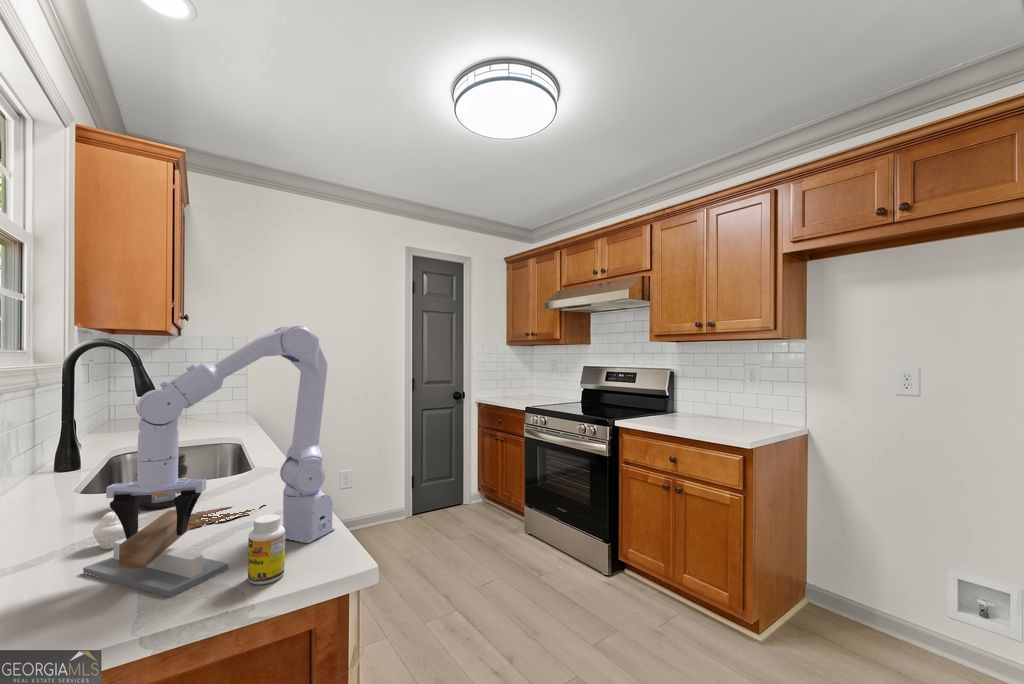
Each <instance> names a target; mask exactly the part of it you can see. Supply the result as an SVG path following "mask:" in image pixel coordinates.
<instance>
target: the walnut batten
mask: <svg viewBox="0 0 1024 684" xmlns="http://www.w3.org/2000/svg"><path fill="white" fill-rule="evenodd" d="M176 529H177V513H176V509H170V510H169V509H168V510H167V511H165V512H164V513H163V514H161V515H160V516H158V517H157V518H156V519H154V520H153V521H151V522H150V523H148V524H147V525H145V527H143V528H141V529H140V530H138V532H137V533H136V534H134V535H133V536H131V537H130V538H128V539H127V540H126V541H124V542H123V543H121V544H120V545H119V570H125V569H136V568H145V567H146V566H147V565H148V564H149V563H151V562H152V561H153V560H154V559H155V558H156V557H158V556H159V555H160V554H161V553H162V552H163V551H165V550H166V549H167V548H168V547H169V548H170V547H171V546H172V545H173V544H175V542H177V541H178V540H179V539H180V538H181V537H182V536H183V535H185V533H187V532H188V531H190V529H189V522H188V526H187V531H186V532H185V533H184V534H183V535H179V536H177V531H176Z"/></svg>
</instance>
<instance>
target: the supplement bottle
mask: <svg viewBox="0 0 1024 684" xmlns="http://www.w3.org/2000/svg"><path fill="white" fill-rule="evenodd" d="M247 540H248V551H247V552H248V553H247V554H248V555H247V580H248V582H249V583H250V584H252V585H259V586H260V585H267V584H271V583H275V582H276V581H278V580H279V579H281V578H282V577H283V575H284V574H285V565H286V564H285V563H286V561H285V558H286V557H285V555H286V554H285V553H286V552H285V551H286V539H285V528H284V527H283V525H281V516H280V515H279V514H265V515H260V516H258V517H256V518H254V521H253V529H252V530H251V531H250V532H249V534H248V539H247Z"/></svg>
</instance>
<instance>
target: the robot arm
mask: <svg viewBox="0 0 1024 684" xmlns="http://www.w3.org/2000/svg"><path fill="white" fill-rule="evenodd" d="M275 356H276V357H277V356H281V357H282V358H285V359H286V360H288V361H290V362H291V364H292V365H293V366H295V367H296V369H297V370H298V371H299V372H300V376H299V384H298V390H297V391H298V392H297V400H296V408H295V416H294V417H295V418H294V424H293V425H294V426H293V433H292V442H291V443H292V444H291V445H290V447H289V448H288V450H287V452H286V457H285V461H284V462H283V464H282V465H281V467H280V471H279V476H280V480H281V481H282V482H283V483H285V485H284V489H283V491H282V493H283V494H282V496H283V497H282V526H283V527H284V528H285V540H287V539H289V540H288V541H292V540H294V541H293V542H298V541H299V543H304V544H309V543H311V542H313V541H315V540H317V539H319V538H321V537H323V536H324V535H327V534H328V533H330V532H332V531H334V530H335V529H336V527H335V526H333V499H332V498H331V496H330V495H329V494H327V493H324V492H323V491H322V489H321V487H322V486H323V485H324V482H325V480H326V479H325V478H326V472H325V469H324V468H323V455H322V452H321V449H320V446H319V443H320V435H321V426H322V419H323V418H322V417H323V409H324V400H325V392H326V391H325V390H326V382H327V375H328V361H327V360H326V357H325V355H324V353H323V351H322V349H321V346H320V338H319V337H318V336H317V335H316V334H315V333H314V332H313V331H311V329H309V328H308V327H306V326H304V325H294V326H282V327H281V326H280V327H277V328H276V329H275V330H273V331H269V332H267V333H265V334H263V335H260V336H258V337H256V338H255V339H253V340H251V341H250V342H248V343H247V344H245V345H243V346H241V347H240V348H238V349H237V350H235V351H233V352H231V353H230V354H229V355H227V356H225V357H224V358H222V359H220V360H219V361H218V362H216V363H214V364H213V365H212V364H207V363H200V364H198V365H195V364H191V365H189V366H188V367H187V366H186V370H187V371H186V372H184V373H182V374H180V375H179V376H176V377H175V378H173V379H171V380H170V381H168V382H167V381H162V382H160V383H159V386H160V388H161V389H153V390H148V391H147V392H145V393H143V395H141V396H140V398H139V400H138V401H137V405H135V410H136V411H135V412H136V413H137V415H138V416H139V417H140V419H139V423H138V430H139V432H138V435H137V470H136V471H137V482H136V481H131V482H124V483H113V484H110V485H108V486H106V491H105V492H106V493H105V495H106V496H105V497H106V499H112V501H110V502H109V508H110V509H111V510H112V511H114V512H115V514H116V515H117V517H118V518H119V520H120V522H121V524H122V527H123V529H124V532H125V536H126V539H128V538H130V537H131V536H133V535H134V534H136V533H137V532H138V531H139V512H140V511H139V510H140V508H139V505H140V500H141V496H142V495H152V494H169V493H181V495H178V496H177V497H175V498H174V502H175V505H174V506H175V510H176V513H177V529H176V531H177V536H179V535H182V536H183V535H185V534H184V533H185V532H186V531H187V526H188V522H189V519H190V516H191V514H193V510H194V508H195V507H196V504H197V502H198V500H199V498H200V497H201V496H202V493H203V492H205V491H206V490H207V478H201V479H200V478H198V479H197V478H187V479H180V478H178V452H179V438H180V437H179V433H180V432H179V429H178V421H179V420H178V419H179V417H180V416H181V414H182V412H183V410H184V409H189V408H191V407H193V406H194V405H196V404H198V403H199V402H201V401H203V400H204V399H206V398H207V397H209V396H211V395H212V394H214V393H216V392H217V391H220V389H222V386H223V383H224V380H225V379H226V378H227V377H229V376H231V375H233V374H235V373H236V372H238V371H241V370H242V369H244V368H245V367H248V366H249V365H251V364H252V363H255V362H256V361H259V360H260V359H262V358H265V357H275ZM187 532H188V531H187ZM187 532H186V533H187Z"/></svg>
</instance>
